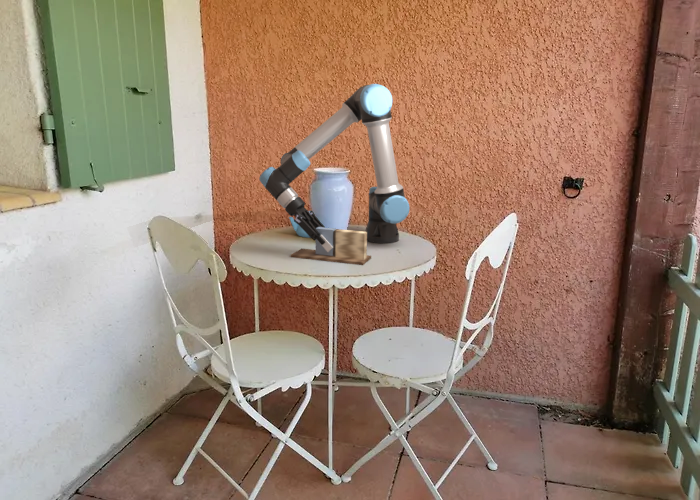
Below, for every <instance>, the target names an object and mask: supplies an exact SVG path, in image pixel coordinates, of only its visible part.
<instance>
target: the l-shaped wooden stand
mask: <svg viewBox="0 0 700 500" xmlns="http://www.w3.org/2000/svg"><path fill="white" fill-rule="evenodd" d="M367 244H368V241H367V232H365V231H362V230H352V229H351V230H350V229H340V228H336V230H334V255H333V256H328V255H319V254H316V249H313V248H312V249H309V248H299V249H298V250H296V251H294V252H293V253H291V254H290V258H295V259H303V260H311V261H314V260H315V261H322V262H331V263H338V264H339V263H341V264H347V265H348V264H349V265H357V266H364V265H365V264H366V263H368V262H369V261H370V260H371V259H372V255H368V254H367V252H368V251H367V250H368V248H367V247H368V245H367Z"/></svg>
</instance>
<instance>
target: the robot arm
mask: <svg viewBox="0 0 700 500" xmlns="http://www.w3.org/2000/svg"><path fill="white" fill-rule="evenodd" d="M392 106H393V96H392V93H391V91H390V90H389V89H388V88H387V87H386V86H383V85H381V84H379V83H371V84H365V85H362V86H361V87H359V88H358V89H357V90H356V91H354V92H353V94H351V95H350V97H348V98H347V99H346V100H345V101H344V102H343V103H342V106H341V107H340V108H339V109H338V110H337V111H336V112H335V113H334V114H332V116H330V117H329V118H327V120H325V121H323V123H322V124H321V125H319V126H317V128H316V129H314V130H313V131H312V132H311V133H309V134H308V135H307V136H306V137H305V138H304V139H302V140H301V141H300V142H299V143H298V144H297V145H295V146H294V147H292V149H291V150H290V151H287V152H285V153H284V154H283V155H282V156H281V158H280V165H279V166H278V167H276V168H275V167H273V166H269V167H268V168H266V169H265V170H264V171H262V173H261V174H260V176H259V182H260V183H261V185H262V186H263V187H264V188H265V189H266V190H267V192H268V193H270V195H271V196H272V197H273V198H274V199H275V200H276V201H277V202H278V204H279V206H281V207H282V208H283V209H284V210H285V212H286V213H287V214H288V215H289V217H293V216H294V222H296V224H298V225H299V226H300V227H301V228H302V229H303V230H304V231H305V232H306V233H307V234H308V235H309V236H310V237H311V238H310V239H311V240H313V241H315V242H316V239H317V241H318V242H319V243H320V244H321V245H322V246H323V247H324V248H325V250H326V251H327V252H329V251H330V250H331V249H332V248H333V246H332V245H331V244H330V243H329V242H328V241H327V240H326V238H325V237H324V236H323V235H320V233H319V232H318V231H317V230H316V228H317V227H325V226H324V225H323V224H322V223H321V222H320V220H319V219H318V218H317V217H316V216H315V214H316V213H315V211H314V210H308V209H307V208H306V207H305V205H306V202H305V201H304V200H303V199H302V198H301V196H299V194H298V193H297V192H296V191H295V190H294V189H293V187H292V186H291V185H290V184H291V183H293V181H294V180H296V179H297V178H298V177H299V176H300V175H301V174H303V172H304V171H307V169H308V168H309V167H310V166H311V160H310V159H312V158H313V157H314V156H315V155H317V154H318V153H319V152H320V151H321V150H322V149H324V148H325V147H326V146H327V145H329V144H330V143H331V142H332V141H334V140H335V138H337V137H338V136H339V135H341V134H342V133H343V132H344V131H346V129H348V128H349V127H350V126H351V125H353V124H354V123H359V122H360V121H361V124H362V125H364V126H365V127H366V130H367V134H368V135H367V136H368V141H369V147H370V152H371V159H372V163H373V165H372V166H373V170H374V175H375V180H376V186H370V188H369V190H368V222H367V225H366V227H365V231H364V232H367V242H369V243H370V242H371V243H375V244H376V243H378V244H388V243H390V244H391V243H396V242H398V241H399V240H400V233H399V230H398V227H397V224H399V223H401V222H403V221H405V220H406V218H407V217H408V215H409V214H410V208H411V207H410V203H409V201H408V199H407V198H406V197H405V191H404V186H403V185H402V184H401V183H399V177H398V171H397V165H396V160H395V159H396V158H395V153H394V147H393V141H392V133H391V129H390V121H391V120H392V118H393V117H392V110H391V109H392ZM309 211H310V212H309ZM313 211H314V212H313ZM314 213H315V214H314Z"/></svg>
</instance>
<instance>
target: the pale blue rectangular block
mask: <svg viewBox="0 0 700 500" xmlns="http://www.w3.org/2000/svg"><path fill="white" fill-rule="evenodd" d="M336 229H337V228H336V227H335V228H332V227H328V228H325V227H317V228H316V230H317V231H318V232H319V233H320V235H323V236H324V237H325V238H326V240H327V241H328V242H329V243H330V244H331V245H332V246H333V248H332V249H331V250H330V251H329V252H327V251H326V250H325V248H324V247H323V246H322V245H321V244H320V243H319V242H318V241H317V239H316V240H315V250H316V254H319V255H328V256H333V255H334V230H336Z"/></svg>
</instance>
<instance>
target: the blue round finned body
mask: <svg viewBox="0 0 700 500" xmlns="http://www.w3.org/2000/svg"><path fill="white" fill-rule="evenodd" d="M308 211H309V212H310V211H311V210H308ZM288 219H289V222H290V224H291V226H292V229H293V231H295V232H296V235H298V236H299V237H300V238H301V237H302V238H310V239H312V238H311V237H310V236H309V235H308V234H307V233H306V232H305V231H304V230H303V229H302V228H301V227H300V226H299V225H298V224H297V223H296V222H294V220H295V218H294V217H293V216H289V217H288Z"/></svg>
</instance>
